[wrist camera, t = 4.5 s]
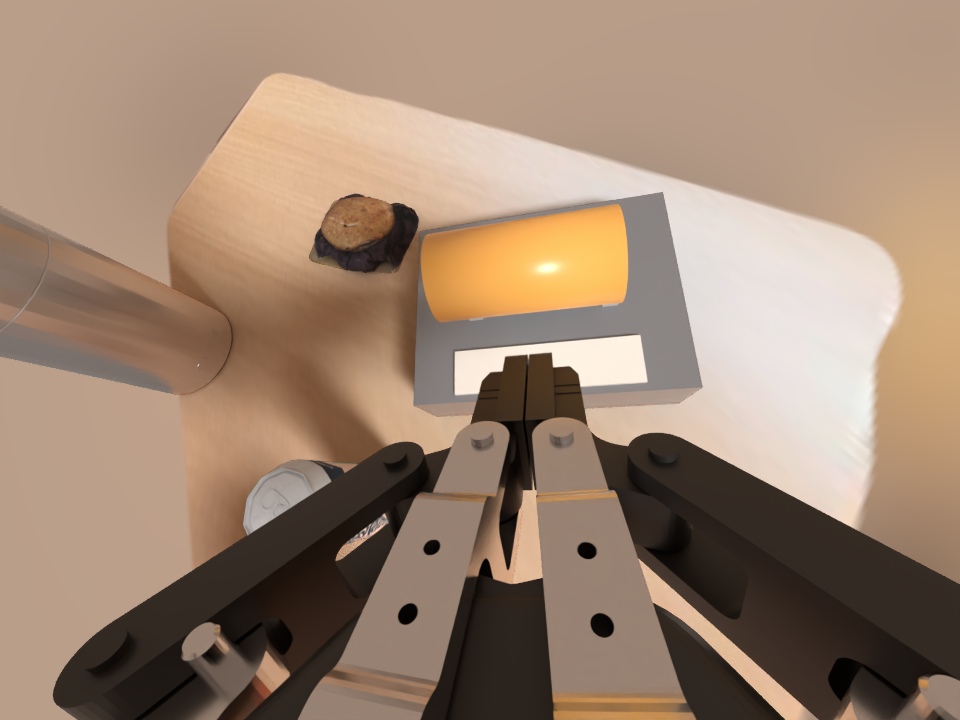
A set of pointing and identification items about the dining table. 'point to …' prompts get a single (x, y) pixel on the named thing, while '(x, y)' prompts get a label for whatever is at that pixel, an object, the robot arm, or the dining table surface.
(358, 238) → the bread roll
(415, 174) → the dining table surface
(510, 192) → the dining table surface
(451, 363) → the block
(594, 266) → the breaker lever
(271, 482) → the beer can
